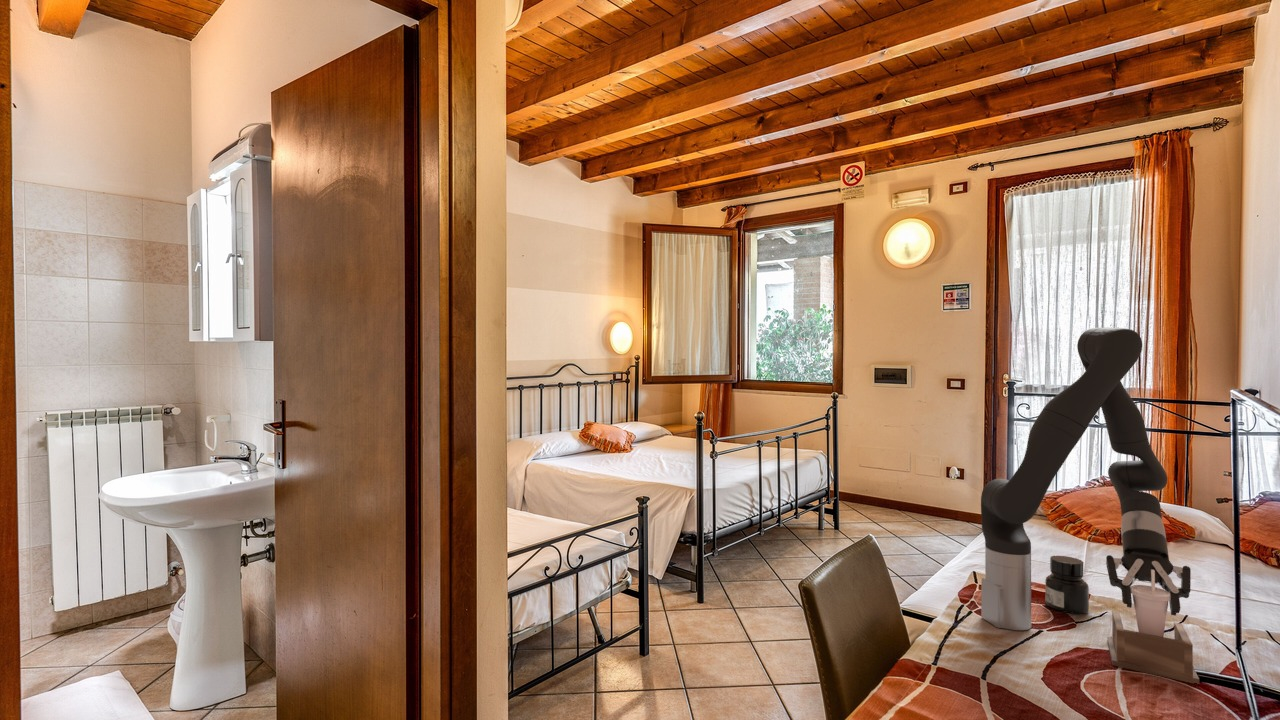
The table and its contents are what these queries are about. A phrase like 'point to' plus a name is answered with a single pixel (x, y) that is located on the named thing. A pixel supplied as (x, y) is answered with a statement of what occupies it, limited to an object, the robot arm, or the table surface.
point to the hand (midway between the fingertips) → (1151, 609)
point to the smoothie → (1150, 607)
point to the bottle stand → (1152, 652)
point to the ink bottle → (1067, 586)
